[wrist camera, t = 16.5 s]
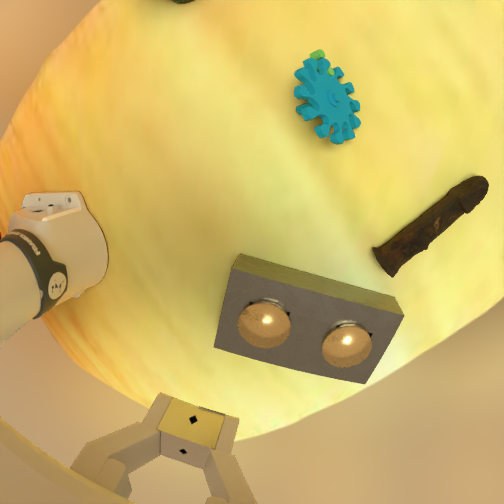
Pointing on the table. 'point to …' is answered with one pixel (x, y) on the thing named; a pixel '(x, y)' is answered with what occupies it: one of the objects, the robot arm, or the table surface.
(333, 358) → the tan dome cap
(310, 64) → the teal cog wheel
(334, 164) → the table surface
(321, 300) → the block
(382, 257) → the hand tool
